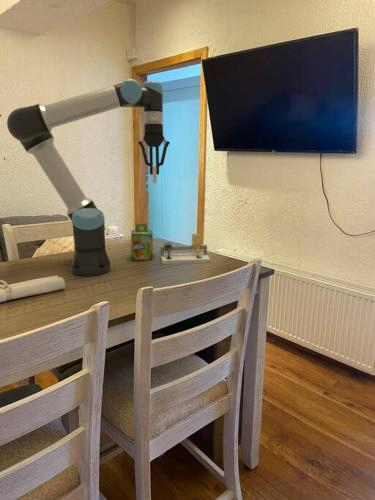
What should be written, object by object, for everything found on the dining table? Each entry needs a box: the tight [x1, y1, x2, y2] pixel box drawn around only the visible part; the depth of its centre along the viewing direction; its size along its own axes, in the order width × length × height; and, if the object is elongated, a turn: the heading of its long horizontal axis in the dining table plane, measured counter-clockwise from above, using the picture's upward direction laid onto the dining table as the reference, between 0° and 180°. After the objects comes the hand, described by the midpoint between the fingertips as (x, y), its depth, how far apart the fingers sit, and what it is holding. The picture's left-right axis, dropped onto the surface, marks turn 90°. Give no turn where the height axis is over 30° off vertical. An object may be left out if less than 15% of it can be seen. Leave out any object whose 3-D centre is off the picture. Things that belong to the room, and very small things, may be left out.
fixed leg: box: [163, 242, 173, 259], centre depth 163 cm, size 3×8×5 cm, turn 7°
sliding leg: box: [191, 233, 201, 257], centre depth 164 cm, size 3×8×8 cm, turn 7°
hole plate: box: [160, 244, 211, 265], centre depth 163 cm, size 20×10×6 cm, turn 97°
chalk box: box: [130, 223, 154, 261], centre depth 166 cm, size 9×9×15 cm
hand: (154, 182), depth 160 cm, fingers closed
